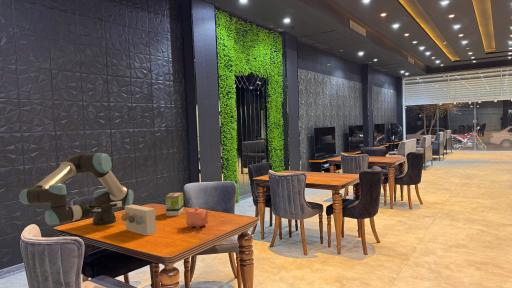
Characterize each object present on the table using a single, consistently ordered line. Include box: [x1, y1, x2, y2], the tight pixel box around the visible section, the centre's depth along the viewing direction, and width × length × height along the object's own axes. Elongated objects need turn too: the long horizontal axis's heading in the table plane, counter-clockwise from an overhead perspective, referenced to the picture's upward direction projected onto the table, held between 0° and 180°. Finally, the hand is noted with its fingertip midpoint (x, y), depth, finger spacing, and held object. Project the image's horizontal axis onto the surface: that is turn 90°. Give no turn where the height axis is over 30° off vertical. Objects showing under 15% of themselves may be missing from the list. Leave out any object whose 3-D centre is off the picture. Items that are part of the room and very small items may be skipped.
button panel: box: [124, 204, 157, 237], centre depth 223 cm, size 24×6×15 cm, turn 50°
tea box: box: [165, 192, 185, 217], centre depth 268 cm, size 15×10×15 cm, turn 179°
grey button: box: [128, 215, 135, 223], centre depth 219 cm, size 4×2×4 cm, turn 50°
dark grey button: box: [136, 217, 142, 225], centre depth 214 cm, size 4×2×4 cm, turn 50°
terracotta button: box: [120, 213, 128, 222], centre depth 224 cm, size 4×2×4 cm, turn 50°
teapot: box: [185, 207, 210, 230], centre depth 229 cm, size 20×12×12 cm, turn 58°
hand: (121, 203), depth 205 cm, fingers closed
